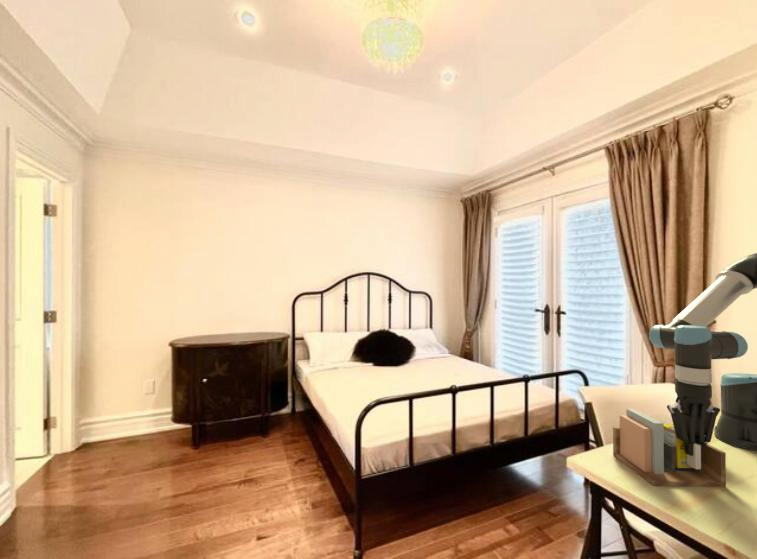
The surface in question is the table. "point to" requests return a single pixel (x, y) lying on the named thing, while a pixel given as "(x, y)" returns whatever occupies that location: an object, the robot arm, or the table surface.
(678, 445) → the supplement box
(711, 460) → the book rack
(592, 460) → the table surface
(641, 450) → the shelved books
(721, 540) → the table surface
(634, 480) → the table surface
